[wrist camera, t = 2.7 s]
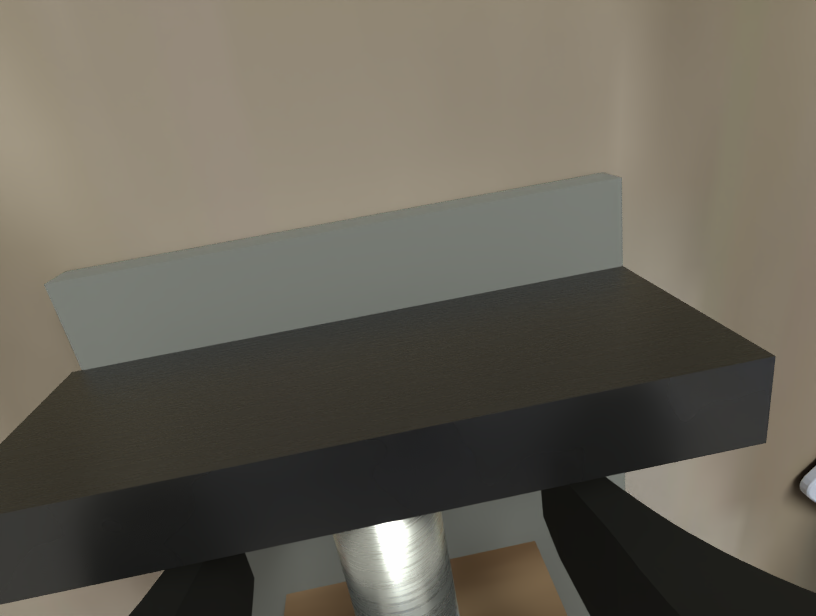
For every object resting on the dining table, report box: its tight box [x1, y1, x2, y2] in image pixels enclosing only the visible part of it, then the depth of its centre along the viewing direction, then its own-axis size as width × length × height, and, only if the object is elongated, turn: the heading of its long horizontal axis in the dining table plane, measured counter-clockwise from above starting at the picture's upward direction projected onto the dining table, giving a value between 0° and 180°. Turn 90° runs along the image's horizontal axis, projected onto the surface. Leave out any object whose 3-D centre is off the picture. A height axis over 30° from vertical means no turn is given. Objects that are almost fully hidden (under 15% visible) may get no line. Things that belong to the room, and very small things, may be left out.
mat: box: [44, 173, 625, 616], centre depth 18 cm, size 26×14×1 cm, turn 9°
